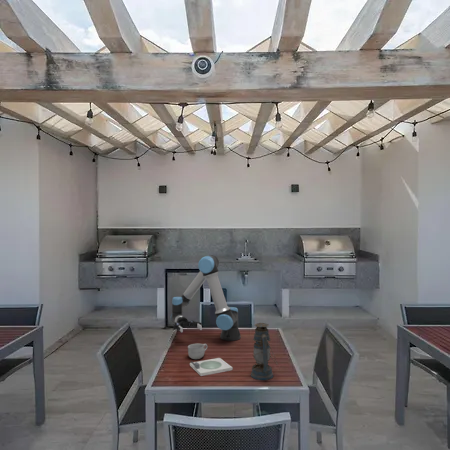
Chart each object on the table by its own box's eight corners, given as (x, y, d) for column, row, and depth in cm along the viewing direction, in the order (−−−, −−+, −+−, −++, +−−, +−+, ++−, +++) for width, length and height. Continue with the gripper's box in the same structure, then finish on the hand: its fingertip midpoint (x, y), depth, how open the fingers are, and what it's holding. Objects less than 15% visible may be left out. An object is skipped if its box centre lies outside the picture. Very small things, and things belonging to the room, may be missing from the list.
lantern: (247, 369, 225) (246, 319, 225) (270, 368, 227) (270, 317, 227) (255, 383, 206) (254, 327, 206) (280, 381, 208) (280, 326, 208)
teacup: (191, 361, 239) (191, 349, 239) (185, 356, 248) (185, 344, 248) (211, 358, 245) (211, 345, 245) (204, 353, 255) (204, 341, 255)
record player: (219, 360, 241) (219, 353, 241) (232, 370, 225) (232, 363, 225) (189, 365, 233) (189, 358, 233) (200, 376, 216) (200, 369, 216)
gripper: (197, 324, 281) (208, 332, 262) (164, 328, 270) (173, 336, 251) (197, 314, 281) (209, 321, 262) (164, 318, 270) (174, 325, 251)
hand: (191, 329), depth 256 cm, fingers open, 13 cm apart
